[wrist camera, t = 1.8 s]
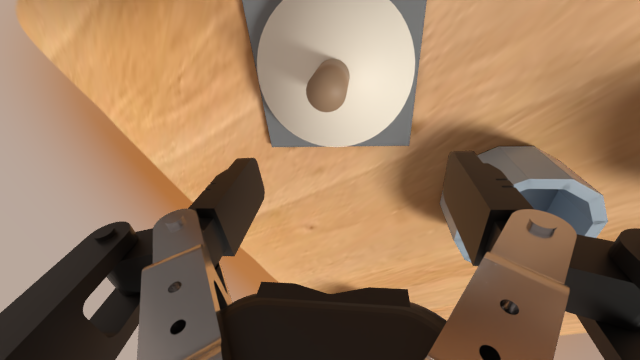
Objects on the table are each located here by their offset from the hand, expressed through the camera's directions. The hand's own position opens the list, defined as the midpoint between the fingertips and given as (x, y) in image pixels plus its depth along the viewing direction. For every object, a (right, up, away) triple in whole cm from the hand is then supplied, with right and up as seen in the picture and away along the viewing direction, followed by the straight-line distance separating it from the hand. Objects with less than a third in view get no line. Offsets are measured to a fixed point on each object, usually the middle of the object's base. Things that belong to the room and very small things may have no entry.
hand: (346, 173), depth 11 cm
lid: (0, +10, +13) cm, 16 cm away
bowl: (+19, -2, +18) cm, 27 cm away
